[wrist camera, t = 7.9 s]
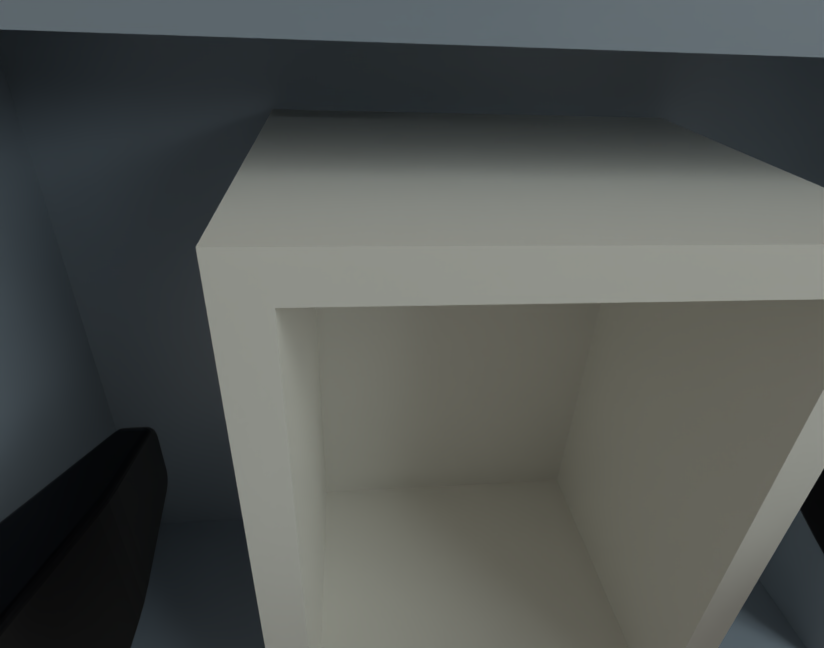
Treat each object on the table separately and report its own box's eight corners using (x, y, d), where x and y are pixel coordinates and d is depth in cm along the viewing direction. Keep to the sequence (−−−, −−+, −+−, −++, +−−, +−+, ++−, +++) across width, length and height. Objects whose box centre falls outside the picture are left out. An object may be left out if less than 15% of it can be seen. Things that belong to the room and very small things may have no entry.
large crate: (700, 489, 15) (830, 673, 11) (132, 521, 13) (41, 751, 9) (918, -8, 9) (1376, 0, 5) (-60, -56, 7) (-529, -100, 3)
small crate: (567, 478, 13) (676, 719, 9) (304, 491, 12) (284, 759, 8) (661, 117, 9) (956, 244, 5) (272, 108, 8) (194, 246, 4)
